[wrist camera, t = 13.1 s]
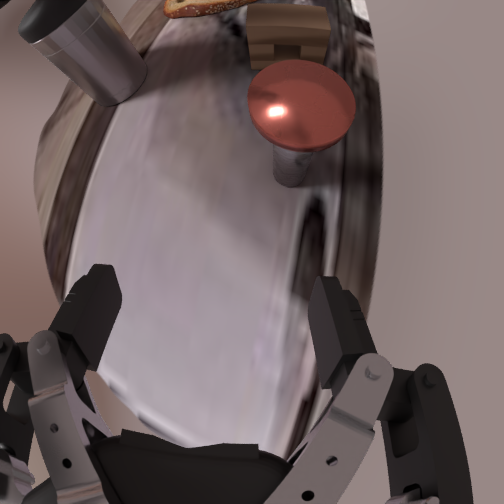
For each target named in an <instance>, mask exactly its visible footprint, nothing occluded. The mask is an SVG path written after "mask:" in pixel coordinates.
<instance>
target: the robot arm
mask: <svg viewBox="0 0 504 504" xmlns="http://www.w3.org/2000/svg"><path fill="white" fill-rule="evenodd" d="M9 1H10V0H0V9H1V8H2V7H3V6H5V5H6V4H7V3H8V2H9ZM18 32H19V34H20V36H21V37H22V38H23V39H24V40H26V41H27V42H28V43H29V44H30V45H32V46H33V47H34V48H35V49H36V50H37V51H39V52H40V53H41V54H42V55H43V56H45V57H46V58H47V59H48V60H49V61H50V62H52V63H53V64H54V65H55V66H56V67H57V68H58V69H59V70H61V71H62V72H63V73H64V74H65V75H66V76H67V77H68V78H70V79H71V80H72V81H73V82H74V83H75V84H76V85H78V86H79V87H80V88H81V89H82V90H83V91H84V92H85V93H86V94H88V95H89V96H90V97H91V98H92V99H93V100H94V101H96V102H97V103H98V104H99V105H101V106H112V105H116V104H118V103H120V102H122V101H124V100H126V99H127V98H128V97H130V96H131V95H132V94H133V93H134V92H135V91H136V90H137V89H138V88H139V87H140V86H141V84H142V83H143V81H144V79H145V77H146V74H147V66H146V64H145V62H144V61H143V59H142V58H141V56H140V55H139V53H138V52H137V50H136V49H135V47H134V46H133V44H132V43H131V41H130V40H129V38H128V37H127V35H126V34H125V32H124V31H123V29H122V28H121V27H120V25H119V24H118V22H117V21H116V19H115V18H114V16H113V15H112V13H111V12H110V10H109V9H108V8H107V6H106V5H105V3H104V2H103V1H102V0H36V1H35V2H34V4H33V5H32V6H31V8H30V9H29V10H28V12H27V13H26V15H25V16H24V17H23V19H22V21H21V23H20V25H19V28H18ZM121 304H122V293H121V290H120V287H119V284H118V280H117V277H116V274H115V270H114V267H113V266H112V265H106V264H94V265H93V266H92V267H91V269H90V271H89V272H88V274H87V275H83V276H82V277H81V278H80V279H79V280H78V281H77V282H75V284H74V285H73V287H72V288H71V290H70V292H69V294H68V295H67V297H66V298H65V302H63V304H62V305H61V307H60V309H59V311H58V312H57V314H56V316H55V318H54V320H53V322H52V324H51V325H50V327H49V329H48V330H43V331H40V332H38V333H36V334H35V335H34V336H33V337H32V338H31V339H30V341H29V342H21V343H15V341H14V340H13V339H12V337H11V336H10V335H8V334H6V333H3V334H0V504H337V502H338V500H339V499H340V497H341V496H342V494H343V493H344V491H345V489H346V488H347V486H348V485H349V483H350V482H351V480H352V478H353V476H354V475H355V473H356V471H357V470H358V468H359V466H360V464H361V462H362V460H363V459H364V457H365V455H366V453H367V451H368V449H369V447H370V445H371V443H372V441H373V438H374V435H375V431H374V430H373V426H374V424H375V421H376V420H380V421H381V426H382V432H383V439H384V445H385V451H386V458H387V466H388V475H389V484H390V495H391V498H390V499H389V500H388V501H387V502H386V503H385V504H473V494H472V486H471V479H470V472H469V466H468V461H467V456H466V451H465V446H464V442H463V437H462V433H461V429H460V426H459V422H458V418H457V415H456V411H455V408H454V404H453V401H452V398H451V395H450V392H449V389H448V386H447V383H446V380H445V378H444V375H443V373H442V371H441V370H440V369H439V368H438V367H436V366H434V365H432V364H428V363H427V364H426V363H425V364H422V365H420V366H419V367H418V368H417V369H416V370H415V371H409V370H403V369H398V368H394V367H392V365H391V364H390V362H389V361H388V360H387V359H386V358H384V357H383V356H381V355H379V354H378V353H377V351H376V348H375V345H374V343H373V340H372V337H371V334H370V332H369V329H368V326H367V323H366V321H365V320H364V319H365V318H364V315H363V313H362V312H361V308H360V305H359V303H358V300H357V299H356V297H355V296H354V295H353V294H352V293H351V292H350V291H349V290H342V287H341V285H340V282H339V279H338V278H337V277H329V276H318V277H317V278H316V281H315V284H314V288H313V291H312V295H311V298H310V302H309V306H308V320H309V325H310V330H311V335H312V340H313V345H314V350H315V355H316V360H317V366H318V371H319V377H320V382H321V388H322V389H331V390H332V395H333V396H332V397H331V399H330V400H329V402H328V404H327V405H326V407H325V409H324V410H323V412H322V413H321V415H320V416H319V418H318V420H317V421H316V423H315V424H314V426H313V427H312V429H311V430H310V432H309V433H308V434H307V436H306V437H305V438H304V440H303V441H302V442H301V444H300V445H299V446H298V447H297V449H296V450H295V451H294V453H293V454H292V455H291V457H290V458H289V459H288V461H286V460H284V459H282V458H281V457H279V456H276V455H274V454H272V453H269V452H266V451H262V450H258V444H229V443H222V444H216V445H209V446H202V447H195V448H184V447H181V446H178V445H176V444H173V443H171V442H168V441H166V440H163V439H161V438H158V437H156V436H154V435H149V434H144V433H139V432H135V431H130V430H125V429H122V432H121V435H118V436H113V435H112V433H111V431H110V430H109V428H108V426H107V425H106V423H105V422H104V421H103V419H102V417H101V415H100V413H99V411H98V408H97V406H96V403H95V401H94V398H93V396H92V393H91V390H90V388H89V385H88V382H87V380H86V377H85V376H84V375H85V372H86V370H91V371H95V372H96V371H97V369H98V366H99V363H100V360H101V357H102V354H103V351H104V349H105V346H106V343H107V341H108V338H109V335H110V333H111V330H112V328H113V325H114V323H115V320H116V318H117V315H118V313H119V310H120V308H121ZM10 380H11V381H12V382H13V383H14V384H15V386H14V390H13V392H12V396H11V399H10V402H9V405H8V409H7V412H5V410H4V408H3V399H4V396H5V393H6V390H7V387H8V384H9V381H10ZM34 430H35V434H36V438H37V441H38V444H39V447H40V450H41V453H42V456H43V459H44V462H45V465H46V467H47V470H48V472H49V475H50V477H49V478H48V479H47V480H45V481H44V482H43V483H41V484H40V485H38V486H37V487H36V488H34V489H32V486H31V485H33V484H34V483H35V478H34V476H33V474H32V473H30V472H29V469H28V460H29V454H30V449H31V443H32V438H33V433H34Z"/></svg>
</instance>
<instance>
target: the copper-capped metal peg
mask: <svg viewBox="0 0 504 504" xmlns="http://www.w3.org/2000/svg"><path fill="white" fill-rule="evenodd" d="M247 98H248V107H249V112H250V117H251V120H252V122H253V124H254V126H255V128H256V129H257V130H258V132H259V133H260V134H261V135H262V136H263V137H264V138H266V139H267V140H268V141H269V142H271V143H273V175H274V177H275V179H276V181H277V182H278V183H279V184H281V185H283V186H286V187H293V186H296V185H298V184H300V183H301V182H302V180H303V179H304V176H305V174H306V171H307V168H308V166H309V163H310V160H311V158H312V155H313V153H314V152H317V151H321V150H325V149H327V148H330V147H331V146H333V145H335V144H336V143H338V142H339V141H340V140H341V139H342V138H343V137H344V135H345V134H346V133H347V131H348V129H349V127H350V126H351V124H352V122H353V119H354V116H355V111H356V104H355V99H354V96H353V93H352V91H351V89H350V87H349V86H348V84H347V83H346V82H345V81H344V80H343V79H342V78H341V77H340V76H339V75H338V74H337V73H335V72H334V71H333V70H331V69H329V68H327V67H326V66H323V65H321V64H318V63H315V62H311V61H306V60H285V61H280V62H277V63H274V64H272V65H269V66H268V67H266V68H264V69H263V70H262V71H260V72H259V73H258V74H257V75H256V76H255V77H254V79H253V80H252V82H251V84H250V86H249V89H248V95H247Z"/></svg>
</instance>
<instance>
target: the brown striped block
mask: <svg viewBox="0 0 504 504" xmlns="http://www.w3.org/2000/svg"><path fill="white" fill-rule="evenodd" d="M246 31H247V38H248V46H249V54H250V62H251V69H252V70H263V69H264V68H266V67H268V66H269V65H272V64H274V63H277V62H280V61H285V60H306V61H311V62H315V63H318V64H321V65H323V63H324V58H325V54H326V50H327V45H328V41H329V37H330V32H331V28H330V24H329V20H328V16H327V12H326V8H325V7H319V6H309V5H297V4H248V7H247V19H246Z"/></svg>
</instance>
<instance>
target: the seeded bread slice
mask: <svg viewBox="0 0 504 504" xmlns="http://www.w3.org/2000/svg"><path fill="white" fill-rule="evenodd" d="M254 1H256V0H166V2H165V4H164V11H163V12H164V15H165V16H167V17H169V18H171V19H176V18H179V17H197V16H205V15H210V14H214V13H218V12H222V11H225V10H230V9H233V8H237V7H240V6H242V5H244V4H246V3H250V2H254Z"/></svg>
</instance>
